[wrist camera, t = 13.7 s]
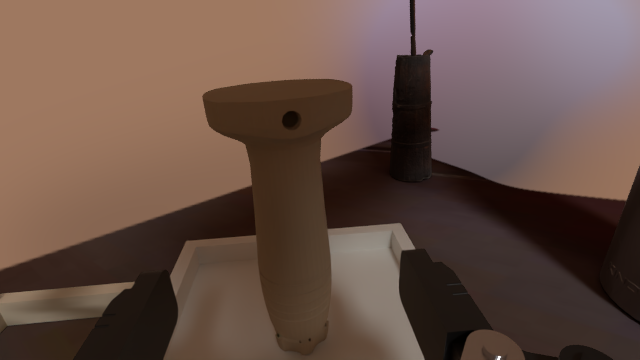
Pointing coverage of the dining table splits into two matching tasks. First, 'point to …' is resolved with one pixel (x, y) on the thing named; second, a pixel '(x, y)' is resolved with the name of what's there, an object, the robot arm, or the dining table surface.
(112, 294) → the wooden square frame
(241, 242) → the tray
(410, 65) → the butter churn
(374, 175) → the dining table surface
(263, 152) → the handle
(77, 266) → the dining table surface
